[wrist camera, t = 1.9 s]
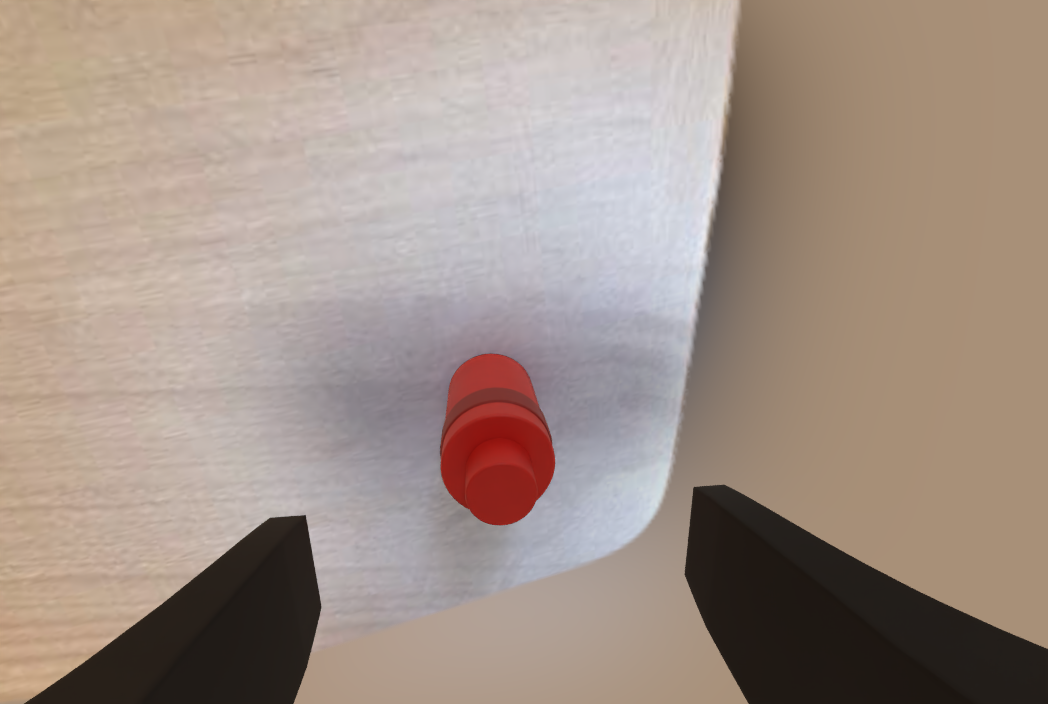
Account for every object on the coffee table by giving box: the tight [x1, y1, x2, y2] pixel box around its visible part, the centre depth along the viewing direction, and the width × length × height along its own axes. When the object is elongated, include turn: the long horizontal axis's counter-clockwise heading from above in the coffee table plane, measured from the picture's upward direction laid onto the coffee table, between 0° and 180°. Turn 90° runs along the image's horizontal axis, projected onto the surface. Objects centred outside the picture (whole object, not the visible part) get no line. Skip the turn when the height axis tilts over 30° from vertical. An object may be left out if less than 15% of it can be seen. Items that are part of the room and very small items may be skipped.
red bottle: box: [440, 354, 555, 525], centre depth 14 cm, size 3×3×6 cm
